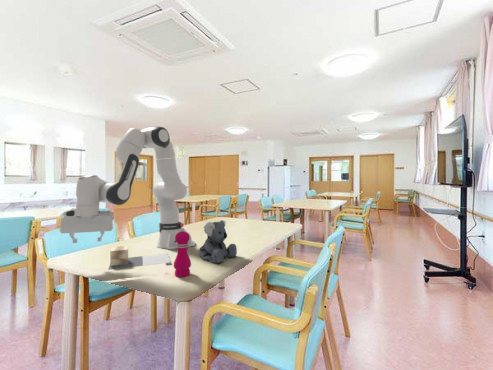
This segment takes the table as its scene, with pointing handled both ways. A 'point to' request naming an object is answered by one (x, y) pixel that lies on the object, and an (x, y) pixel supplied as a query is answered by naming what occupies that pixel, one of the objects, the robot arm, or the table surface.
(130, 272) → the table surface
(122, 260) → the beech block
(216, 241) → the koala plush
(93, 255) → the table surface
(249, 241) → the table surface
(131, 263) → the mat
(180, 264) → the pepper mill
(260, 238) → the table surface
